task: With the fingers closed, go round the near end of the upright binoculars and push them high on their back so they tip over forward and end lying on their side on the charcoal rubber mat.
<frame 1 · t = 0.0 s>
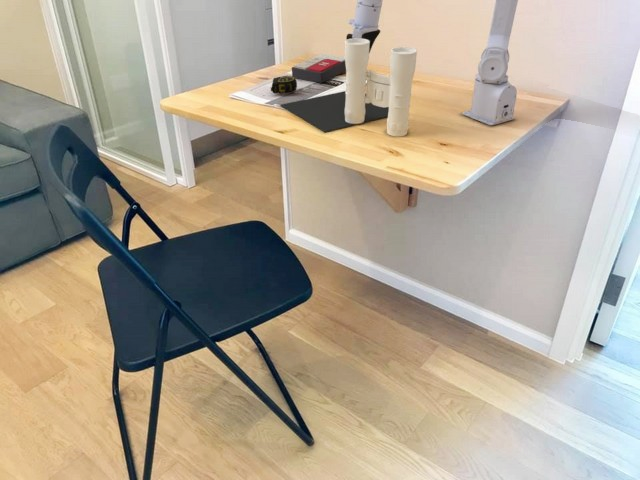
hand: (358, 62, 129), 11 cm above the table, tool pointing down, fingers open, 7 cm apart
mat: (341, 109, 132), on the table
grey and red box: (321, 74, 158), on the table
tape measure: (282, 93, 144), on the table
binoculars: (375, 126, 121), on the table, touching mat
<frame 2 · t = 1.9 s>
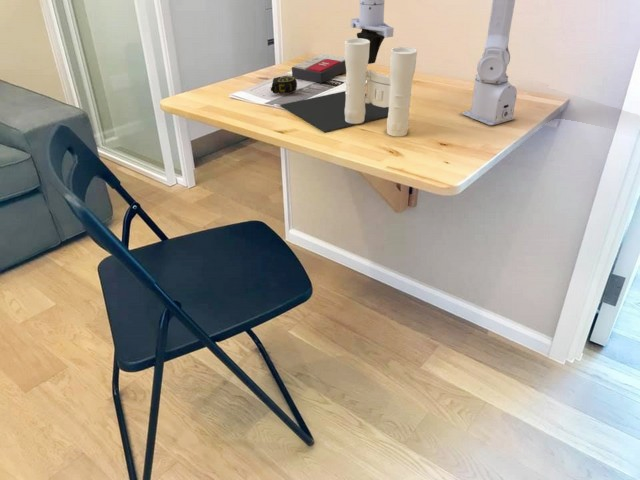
hand: (370, 62, 129), 10 cm above the table, tool pointing down, fingers closed
nothing on the table moved.
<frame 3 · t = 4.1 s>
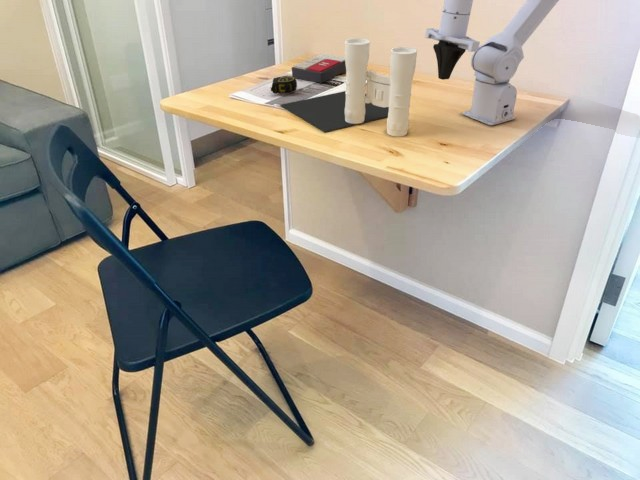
hand: (443, 78, 116), 11 cm above the table, tool pointing down, fingers closed
nothing on the table moved.
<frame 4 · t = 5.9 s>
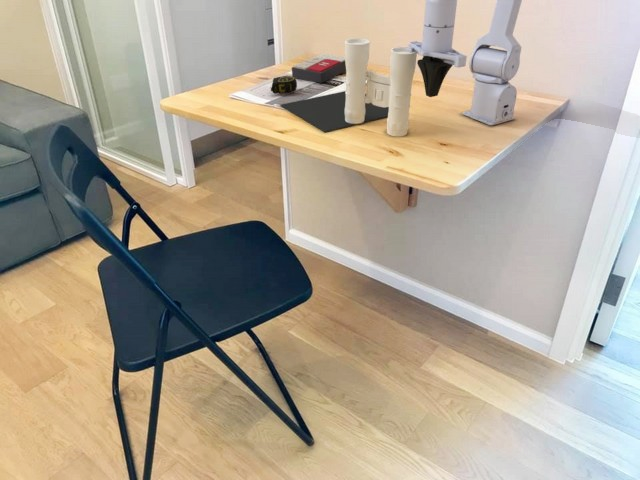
hand: (431, 95, 107), 10 cm above the table, tool pointing down, fingers closed
nothing on the table moved.
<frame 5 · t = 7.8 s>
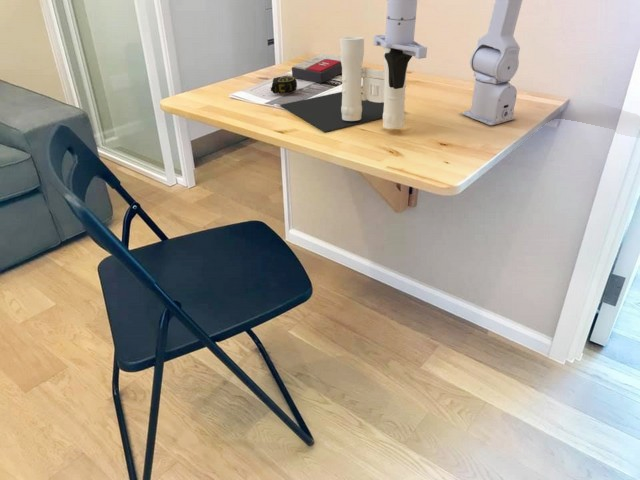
hand: (395, 87, 110), 11 cm above the table, tool pointing down, fingers closed, pressing on binoculars
binoculars: (371, 123, 121), point 1 cm above the table, touching gripper, mat
everything else where it was.
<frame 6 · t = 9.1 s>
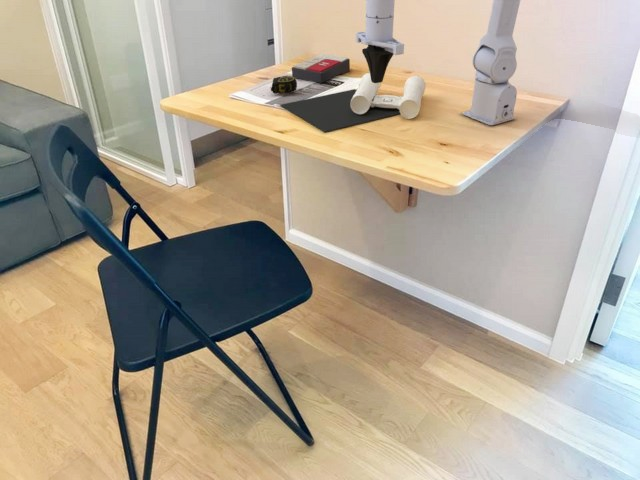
hand: (377, 81, 116), 10 cm above the table, tool pointing down, fingers closed
binoculars: (384, 107, 124), point 3 cm above the table, touching mat
everything else where it was.
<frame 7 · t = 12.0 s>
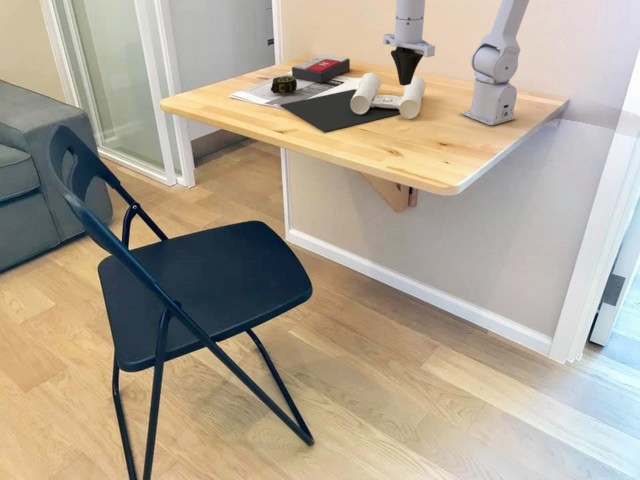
hand: (405, 84, 114), 10 cm above the table, tool pointing down, fingers closed
nothing on the table moved.
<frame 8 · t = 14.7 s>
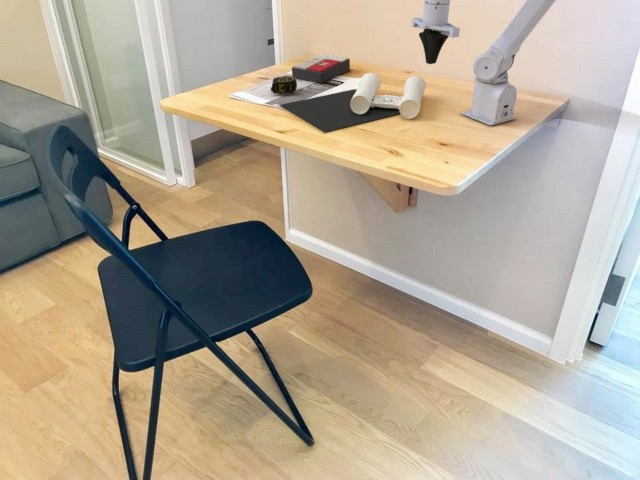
hand: (431, 63, 128), 10 cm above the table, tool pointing down, fingers closed
nothing on the table moved.
at the end: binoculars tilted 90°; binoculars touching mat, table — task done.
